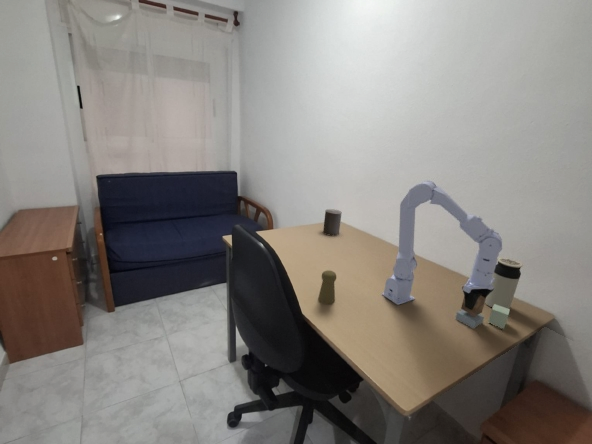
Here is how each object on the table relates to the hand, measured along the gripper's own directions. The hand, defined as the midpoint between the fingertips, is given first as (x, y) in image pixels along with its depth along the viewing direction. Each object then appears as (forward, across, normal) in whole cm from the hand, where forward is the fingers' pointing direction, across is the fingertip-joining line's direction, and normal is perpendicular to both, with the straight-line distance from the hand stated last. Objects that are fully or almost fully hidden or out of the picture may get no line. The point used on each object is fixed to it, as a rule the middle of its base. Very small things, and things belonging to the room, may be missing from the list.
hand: (472, 306), depth 97 cm
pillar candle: (+6, +9, +90) cm, 91 cm away
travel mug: (+6, +20, +1) cm, 21 cm away
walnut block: (+2, 0, 0) cm, 2 cm away
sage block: (+6, +8, -5) cm, 11 cm away
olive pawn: (+6, -37, +31) cm, 49 cm away
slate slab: (+6, 0, 0) cm, 6 cm away
